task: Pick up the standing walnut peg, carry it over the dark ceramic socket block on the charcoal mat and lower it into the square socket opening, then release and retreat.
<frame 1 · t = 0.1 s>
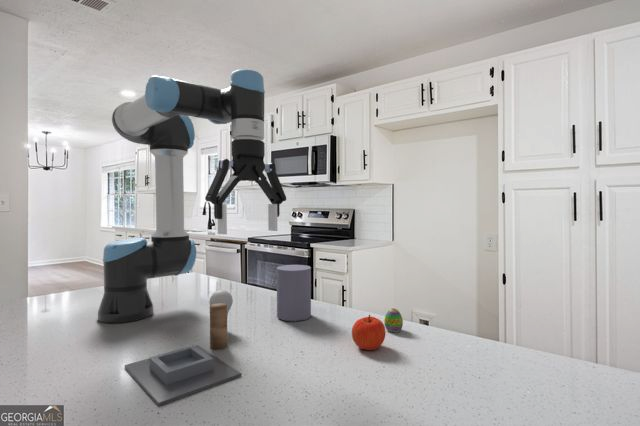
hand: (248, 232, 86), 28 cm above the countertop, fingers open, 13 cm apart
apple: (368, 348, 89), on the countertop
peg: (218, 346, 89), on the countertop
egg: (393, 331, 100), on the countertop
lightbulb: (221, 331, 101), on the countertop
container: (293, 317, 113), on the countertop
socket: (181, 371, 76), on the countertop
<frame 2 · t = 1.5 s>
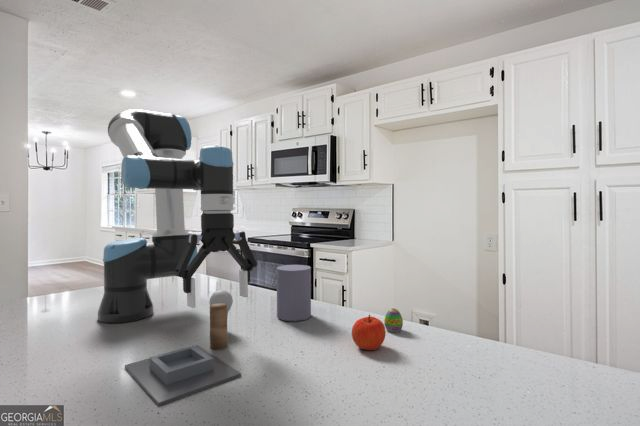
hand: (218, 301, 89), 11 cm above the countertop, fingers open, 13 cm apart
nothing on the countertop moved.
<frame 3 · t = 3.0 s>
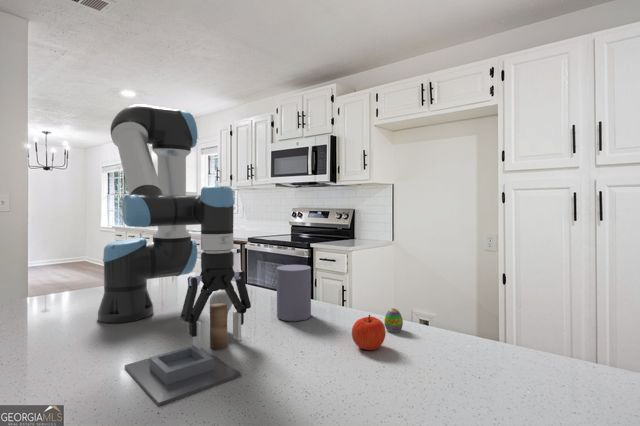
hand: (217, 343, 89), 1 cm above the countertop, fingers open, 10 cm apart
nothing on the countertop moved.
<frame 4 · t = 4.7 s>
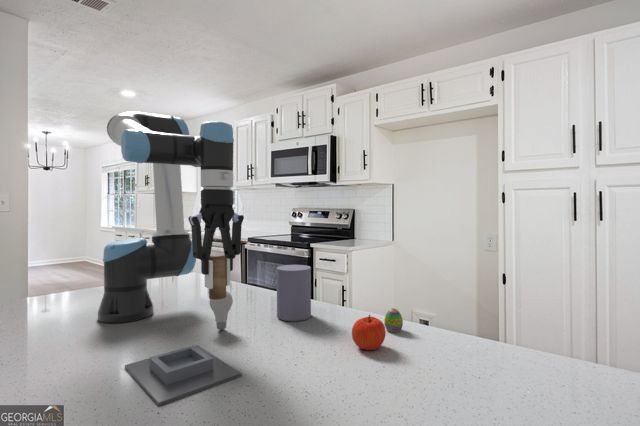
hand: (217, 285, 89), 15 cm above the countertop, fingers closed on peg, 4 cm apart
peg: (217, 297, 89), point 12 cm above the countertop, touching gripper
everything else where it was.
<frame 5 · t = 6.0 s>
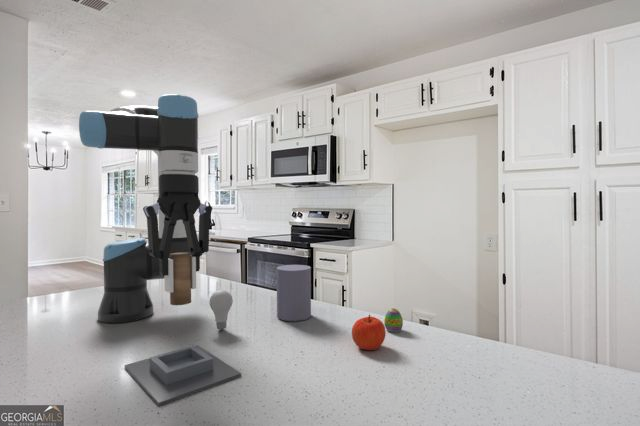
hand: (180, 289, 75), 17 cm above the countertop, fingers closed on peg, 4 cm apart
peg: (180, 302, 75), point 14 cm above the countertop, touching gripper
everything else where it was.
when the fingers open (4 cm above the countertop, at t = 8.1 s): peg stays where it is, resting on socket.
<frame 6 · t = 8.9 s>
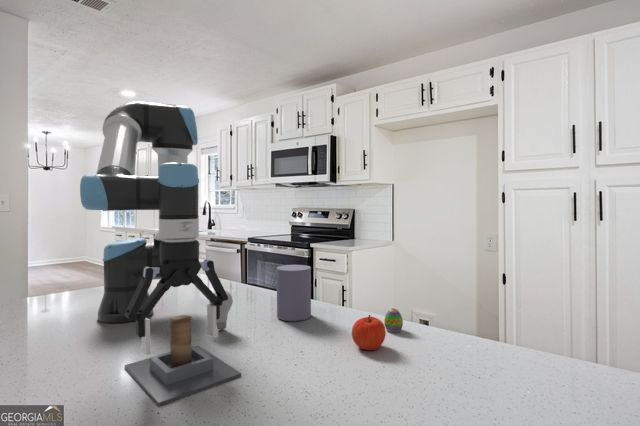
hand: (181, 343, 76), 6 cm above the countertop, fingers open, 13 cm apart
peg: (181, 366, 76), point 1 cm above the countertop, touching socket
everything else where it was.
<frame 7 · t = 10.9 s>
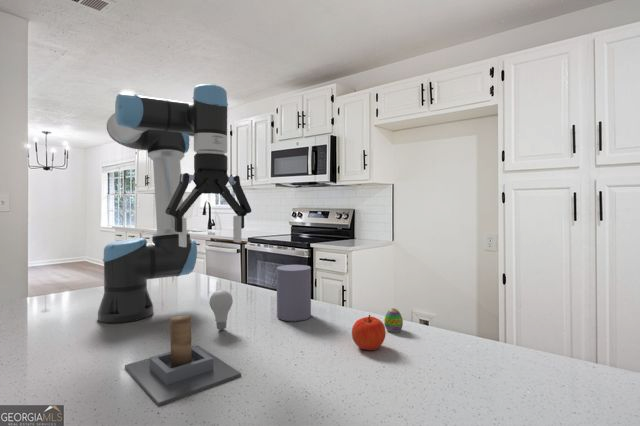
hand: (211, 244, 88), 25 cm above the countertop, fingers open, 13 cm apart
nothing on the countertop moved.
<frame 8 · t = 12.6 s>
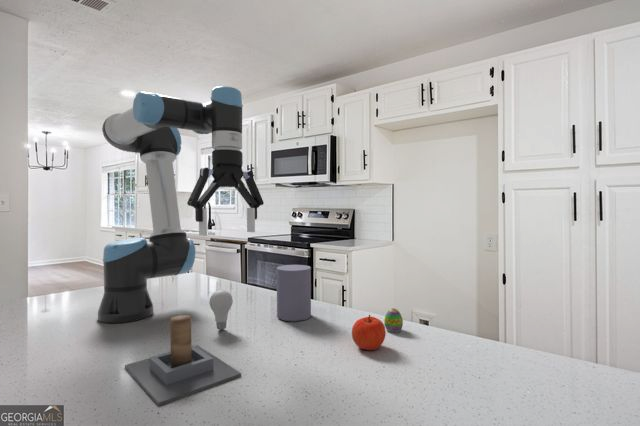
hand: (228, 233, 95), 27 cm above the countertop, fingers open, 13 cm apart
nothing on the countertop moved.
at the end: peg 0.0 cm off-centre on the socket, point 1.1 cm above the socket's base; the gripper is holding nothing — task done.
